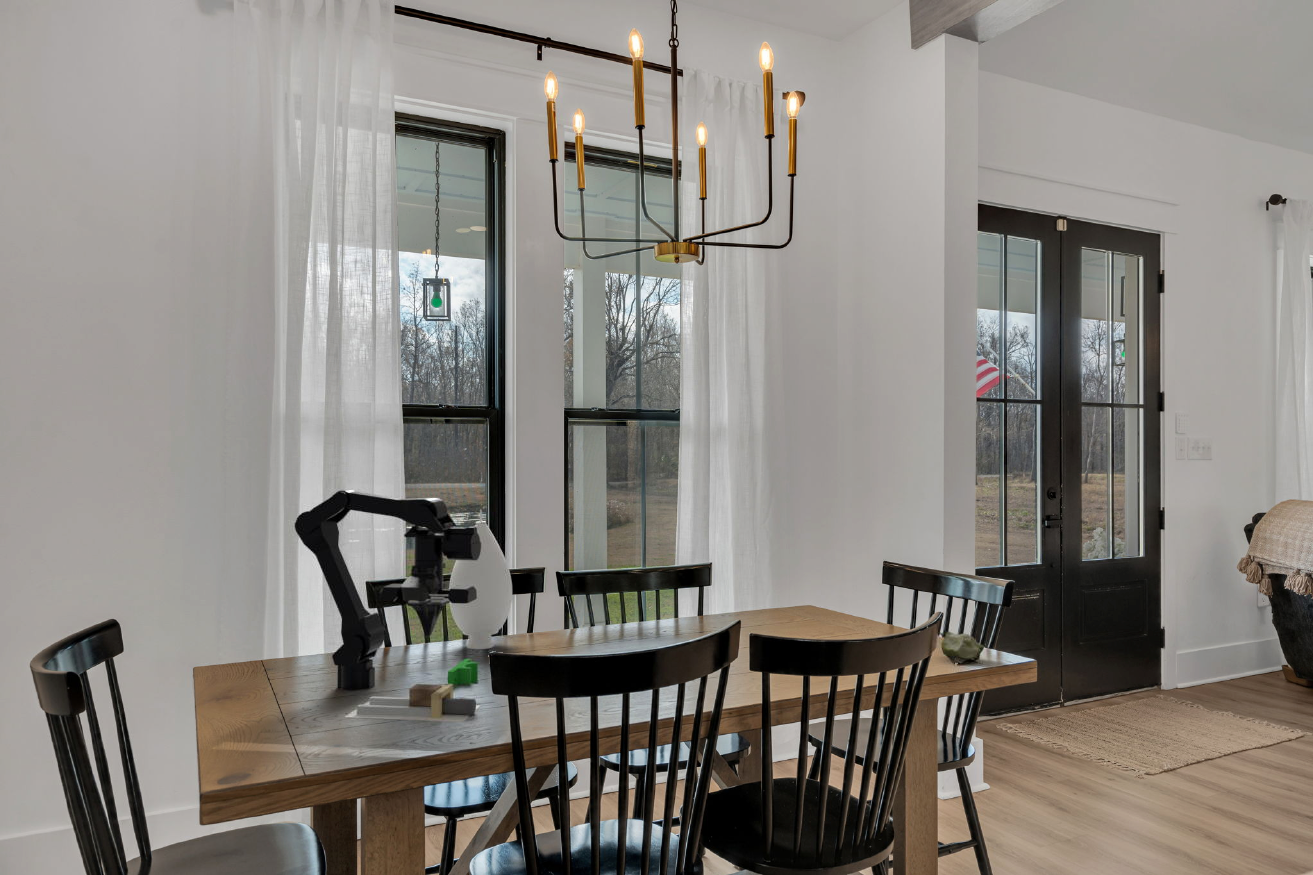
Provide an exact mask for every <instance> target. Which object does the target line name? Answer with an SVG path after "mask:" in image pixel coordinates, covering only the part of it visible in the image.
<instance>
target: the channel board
mask: <svg viewBox="0 0 1313 875" xmlns="http://www.w3.org/2000/svg"><path fill="white" fill-rule="evenodd" d="M442 698H454V687H453V684H448V683H445V684H443V685H442V687H441V688H439V689H438V690H437V691H435V692H434V693H433V694H431V707H409V697H397V696H396V697H395V696H394V697H393V696H370V697H369V700H368V701H367V702H365V703H363V704H358V705H356V709H354V710H353V711H351V712H350V713H348V714H346V716H344V718H358V719H377V720H378V719H380V720H403V721H405V720H406V721H430V722H431V721H432V722H451V723H452V722H453V723H454V722H457V723H465V721H466V720H467V719H468V718H469V717H470V716H471V715H461V714H442ZM480 707H481V705H477V704H476V710H477V709H479V708H480ZM476 710H475V711H476Z"/></svg>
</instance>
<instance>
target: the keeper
mask: <svg viewBox="0 0 1313 875" xmlns="http://www.w3.org/2000/svg"><path fill="white" fill-rule="evenodd" d="M442 686H443V685H442V684H425V683H424V684H421V683H415V684H414V685H413V686H412V687H410V688H409V689H408V690H409V691H408V692H409V695H408V698H409V707H431V694H433V693H434V692H435V691H437V690H438V689H439V688H441V687H442Z"/></svg>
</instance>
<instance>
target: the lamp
mask: <svg viewBox="0 0 1313 875" xmlns="http://www.w3.org/2000/svg"><path fill="white" fill-rule="evenodd" d="M474 527H477V533H478V535H479V538H480V542H481V552H480V556H479V558H478V559H477V560H476V561H475V560H455V563H454V565H453V568H452V572H451V574H450V579H449V587H448V589H451V588H453V587H456V586H474V587H475V589H476V591H477V599H475V600H473V601H471V602H469V603H465V604H460V603H451V602H450V603H448V604H449V608H450V612H451V615H452V618H453V620H454V622H455V625H456V626H457V627H458V629H459V630H460V631H462V634H463V635H465V636H469V637H468V640H467V641H468V642H467V645H466V648H467V649H470V650H487V649H492V648H494V645H495V644H494V640H493V637H492V635H496V634H497V633H499V630H501V628H502V627H503V626H504V624H505V622H506V620H507V619H508V616H509V613H510V611H511V606H512V603H513V602H512V600H513V582H512V576H511V573H510V568H509V565H508V562H507V559H506V557H505V555H504V553H503V551H502V549H501V547H500V545H499V543H498V540H496V537H495V536H494V533H492V530H491V529H490V528H489V526H488V524H487V520H483V512H482V509H480V510H479V521H475V525H474Z"/></svg>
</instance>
